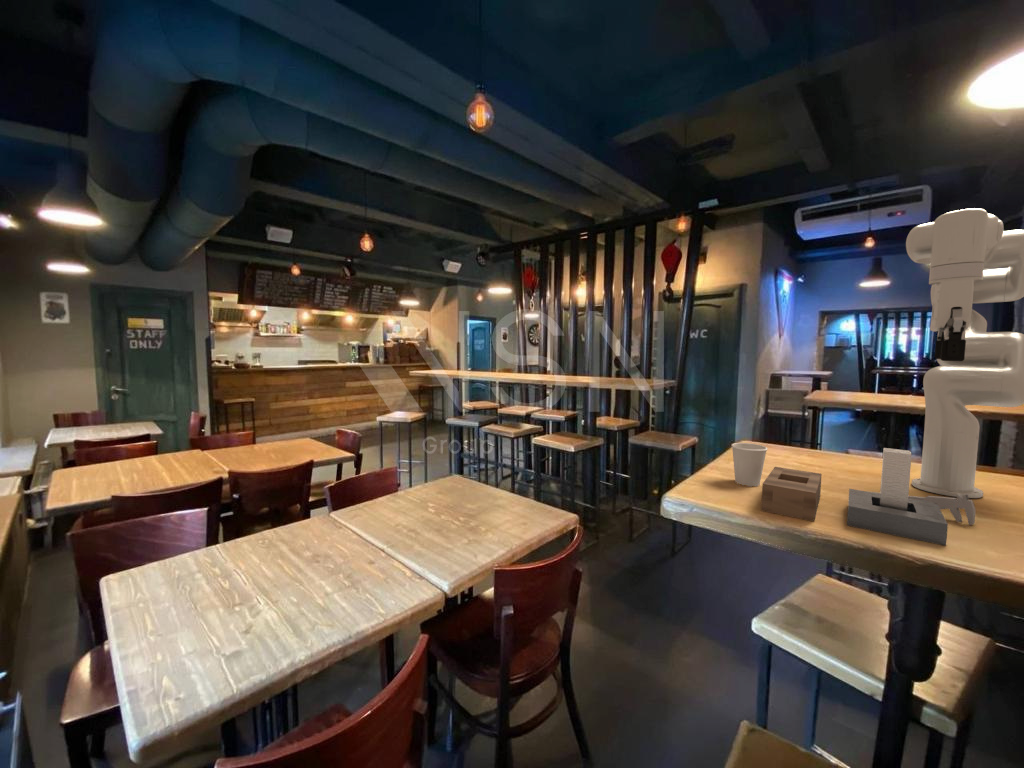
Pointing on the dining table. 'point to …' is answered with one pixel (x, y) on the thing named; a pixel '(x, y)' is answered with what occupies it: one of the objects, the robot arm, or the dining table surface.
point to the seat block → (897, 517)
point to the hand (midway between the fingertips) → (948, 359)
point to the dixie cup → (748, 463)
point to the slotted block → (792, 493)
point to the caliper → (952, 505)
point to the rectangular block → (895, 479)
